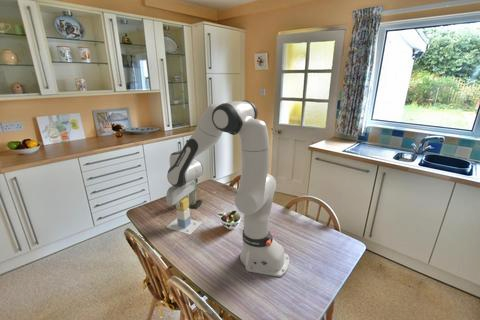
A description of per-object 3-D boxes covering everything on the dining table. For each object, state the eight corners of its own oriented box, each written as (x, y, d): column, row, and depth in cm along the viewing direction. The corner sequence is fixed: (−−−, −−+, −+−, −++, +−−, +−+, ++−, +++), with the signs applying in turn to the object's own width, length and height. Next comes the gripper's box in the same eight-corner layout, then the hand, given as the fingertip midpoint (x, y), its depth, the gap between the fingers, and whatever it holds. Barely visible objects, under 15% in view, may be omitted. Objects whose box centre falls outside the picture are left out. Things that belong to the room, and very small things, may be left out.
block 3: (190, 223, 135) (190, 215, 133) (185, 228, 131) (184, 220, 129) (183, 221, 137) (182, 213, 135) (178, 226, 133) (177, 218, 131)
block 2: (190, 215, 133) (189, 207, 132) (184, 220, 129) (183, 212, 127) (182, 213, 135) (182, 206, 134) (177, 218, 131) (176, 210, 129)
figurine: (197, 210, 150) (193, 165, 140) (182, 208, 152) (177, 164, 142) (202, 202, 159) (200, 159, 149) (188, 200, 161) (185, 158, 151)
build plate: (202, 223, 136) (202, 222, 136) (190, 235, 126) (190, 234, 126) (179, 217, 142) (179, 215, 142) (166, 228, 132) (165, 226, 132)
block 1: (189, 206, 131) (188, 198, 130) (183, 210, 127) (182, 202, 125) (181, 204, 133) (181, 196, 132) (176, 208, 129) (175, 200, 127)
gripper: (172, 190, 115) (175, 215, 119) (196, 175, 132) (197, 197, 137) (161, 188, 117) (165, 212, 122) (186, 173, 135) (188, 195, 139)
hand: (182, 204), depth 129 cm, fingers closed on block 1, 5 cm apart
